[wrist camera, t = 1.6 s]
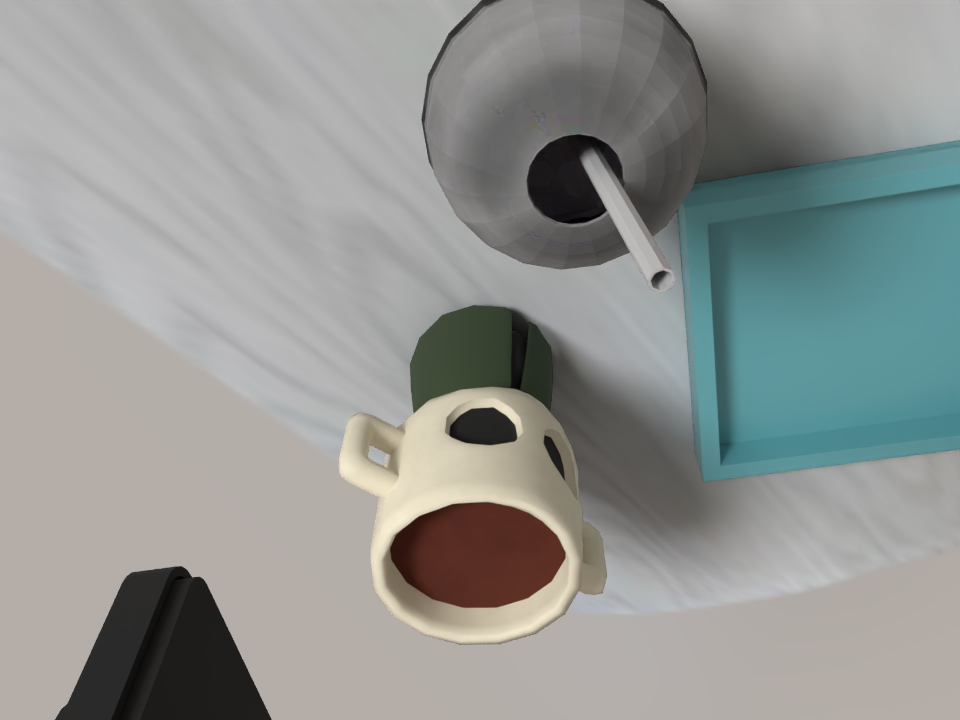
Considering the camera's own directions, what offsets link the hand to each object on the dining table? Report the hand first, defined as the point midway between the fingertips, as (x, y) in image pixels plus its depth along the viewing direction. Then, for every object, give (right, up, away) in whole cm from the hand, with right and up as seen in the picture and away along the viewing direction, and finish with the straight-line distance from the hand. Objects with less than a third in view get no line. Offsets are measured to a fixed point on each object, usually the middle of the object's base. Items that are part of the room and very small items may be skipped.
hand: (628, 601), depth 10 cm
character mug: (-2, +3, +31) cm, 31 cm away
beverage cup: (+1, +15, +23) cm, 28 cm away
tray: (+14, +5, +29) cm, 33 cm away
